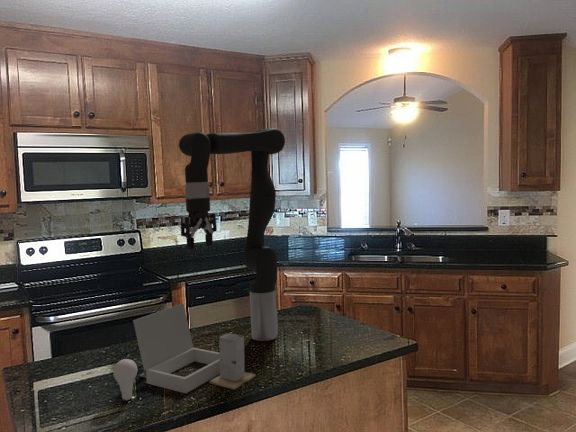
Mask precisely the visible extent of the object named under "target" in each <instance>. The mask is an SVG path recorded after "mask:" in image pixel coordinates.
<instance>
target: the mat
mask: <svg viewBox="0 0 576 432" xmlns="http://www.w3.org/2000/svg"><path fill="white" fill-rule="evenodd" d="M244 372H245V376H244V377H243V378H241V379H239V380H238V381H232V380H228V379H224V378H221V377H220V374H219V375H217V376H216V377H214V378H212V379H210V380H209V381H208V383H209V384H211V385H215V386H218V387H224V388H228V389H231V390H237V388H239V387H241V386H242V385H244V384H245V383H247V382H248V381H250V380H251V379H253V378H255V377H256V373H252V372H247V371H244Z"/></svg>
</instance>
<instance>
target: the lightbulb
mask: <svg viewBox="0 0 576 432" xmlns="http://www.w3.org/2000/svg"><path fill="white" fill-rule="evenodd" d="M112 374H113V378H114V379H115V381H116V382H117V383H118V386H119V389H120V393H121V398H122V400H124V401H129V400H130V399H132V397H133V389H134V381H135V380H136V378H137V374H138V365H137V364H136V362H135V361H134V360H133V359H129V358H124V359H120V360H119V361H118V362H117V363H116V364H115V365H114V367H113V371H112Z"/></svg>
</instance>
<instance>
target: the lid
mask: <svg viewBox="0 0 576 432" xmlns="http://www.w3.org/2000/svg"><path fill="white" fill-rule="evenodd" d="M132 322H133V327H134V331H135V335H136V339H137V344H138V345H137V346H138V349H139V353H140V357H141V361H142V368H143V371H144V370H146V369H149V368H151V367H153V366H155V365H157V364H159V363H161V362H164V361H166V360H168V359H170V358H172V357H174V356H177V355H179V354H181V353H183V352H185V351H187V350H189V349H192V348H194V344H193V340H192V335H191V331H190V327H189V326H190V325H189V322H188V318H187V314H186V309H185V304H184V303H180V304H177V305H174V306H171V307H168V308H165V309H163V310H160V311H157V312H154V313H150V314H148V315H146V316H145V315H144V316H142V317H139V318H136V319H133V320H132Z"/></svg>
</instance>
